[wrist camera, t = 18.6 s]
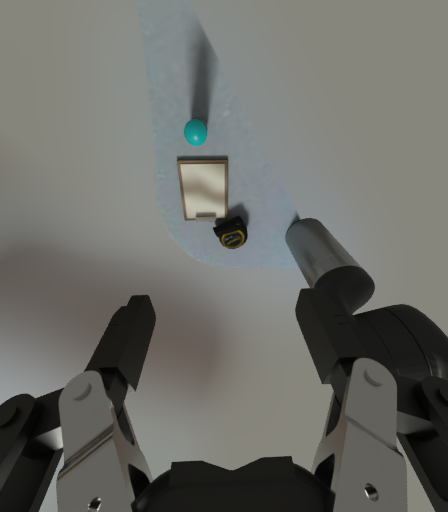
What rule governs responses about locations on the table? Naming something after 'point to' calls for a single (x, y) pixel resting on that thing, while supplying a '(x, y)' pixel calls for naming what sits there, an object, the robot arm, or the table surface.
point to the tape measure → (232, 233)
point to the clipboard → (204, 189)
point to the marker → (196, 131)
